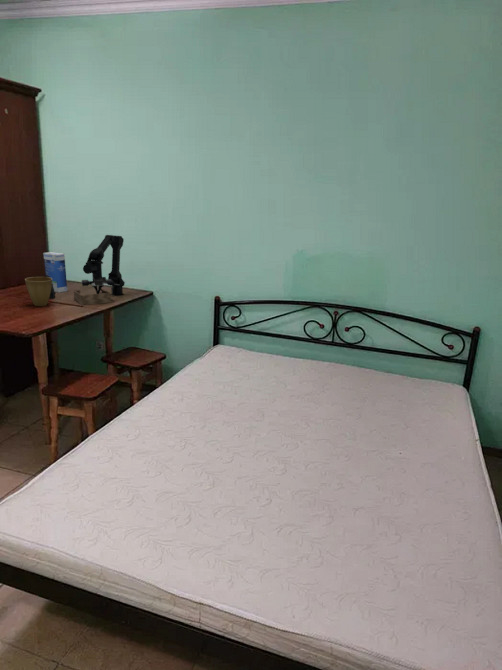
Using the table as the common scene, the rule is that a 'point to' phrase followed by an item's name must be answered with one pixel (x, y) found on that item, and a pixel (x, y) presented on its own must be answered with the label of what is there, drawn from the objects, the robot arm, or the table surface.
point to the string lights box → (56, 270)
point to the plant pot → (39, 289)
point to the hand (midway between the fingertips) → (98, 295)
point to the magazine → (52, 294)
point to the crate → (92, 297)
